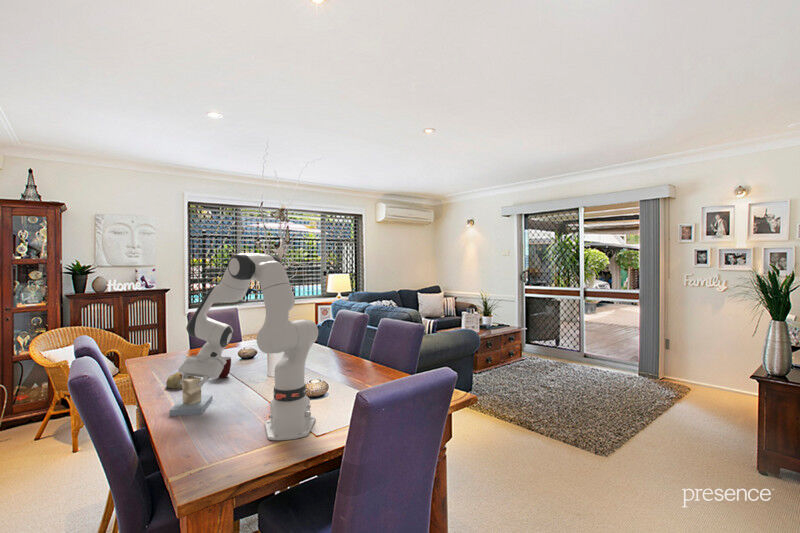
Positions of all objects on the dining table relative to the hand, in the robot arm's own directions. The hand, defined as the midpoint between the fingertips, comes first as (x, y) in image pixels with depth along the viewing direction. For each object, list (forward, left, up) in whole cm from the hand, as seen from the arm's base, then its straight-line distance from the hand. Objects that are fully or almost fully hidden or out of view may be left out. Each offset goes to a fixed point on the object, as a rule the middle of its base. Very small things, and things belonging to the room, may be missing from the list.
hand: (190, 385), depth 170 cm
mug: (+45, -2, -10) cm, 46 cm away
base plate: (+1, 0, -10) cm, 11 cm away
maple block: (+1, 0, -7) cm, 8 cm away
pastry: (+35, +15, -10) cm, 40 cm away
